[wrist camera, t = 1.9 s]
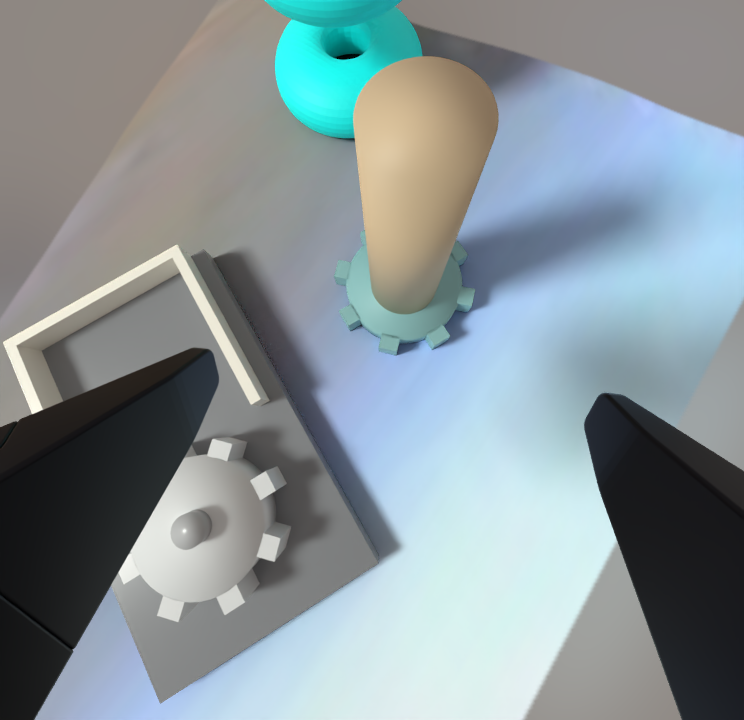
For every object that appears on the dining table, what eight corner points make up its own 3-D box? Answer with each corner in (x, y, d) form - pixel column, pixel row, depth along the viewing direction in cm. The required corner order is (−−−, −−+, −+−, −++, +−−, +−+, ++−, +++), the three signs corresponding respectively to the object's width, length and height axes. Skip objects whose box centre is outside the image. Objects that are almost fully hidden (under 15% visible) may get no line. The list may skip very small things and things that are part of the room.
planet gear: (496, 310, 22) (649, 156, 9) (380, 380, 22) (373, 320, 9) (423, 206, 24) (467, -52, 11) (313, 270, 23) (221, 80, 10)
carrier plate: (378, 555, 20) (376, 588, 16) (174, 686, 19) (119, 754, 15) (212, 257, 23) (177, 224, 20) (34, 358, 23) (-39, 345, 19)
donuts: (172, -98, 16) (312, -232, 17) (254, 102, 26) (339, 9, 27) (349, 3, 14) (488, -150, 15) (364, 174, 24) (448, 72, 25)
